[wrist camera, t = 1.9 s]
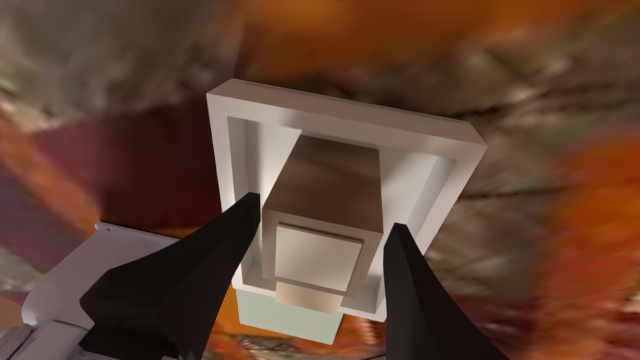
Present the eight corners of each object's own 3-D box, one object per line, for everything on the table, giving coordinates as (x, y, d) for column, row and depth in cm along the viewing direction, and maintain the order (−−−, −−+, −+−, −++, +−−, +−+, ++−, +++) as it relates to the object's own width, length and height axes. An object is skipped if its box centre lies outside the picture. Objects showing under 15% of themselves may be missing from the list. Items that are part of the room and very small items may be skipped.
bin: (245, 260, 26) (232, 287, 23) (232, 78, 15) (206, 93, 13) (382, 291, 25) (383, 322, 23) (468, 121, 14) (488, 146, 12)
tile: (242, 317, 33) (240, 323, 33) (236, 261, 26) (233, 268, 26) (332, 338, 33) (331, 344, 32) (351, 287, 26) (350, 294, 25)
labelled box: (294, 194, 19) (261, 280, 13) (299, 134, 16) (260, 210, 10) (360, 208, 19) (356, 302, 13) (378, 149, 16) (383, 236, 10)
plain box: (288, 260, 24) (275, 301, 20) (292, 222, 21) (277, 264, 17) (341, 271, 23) (336, 315, 20) (352, 235, 20) (349, 279, 17)
